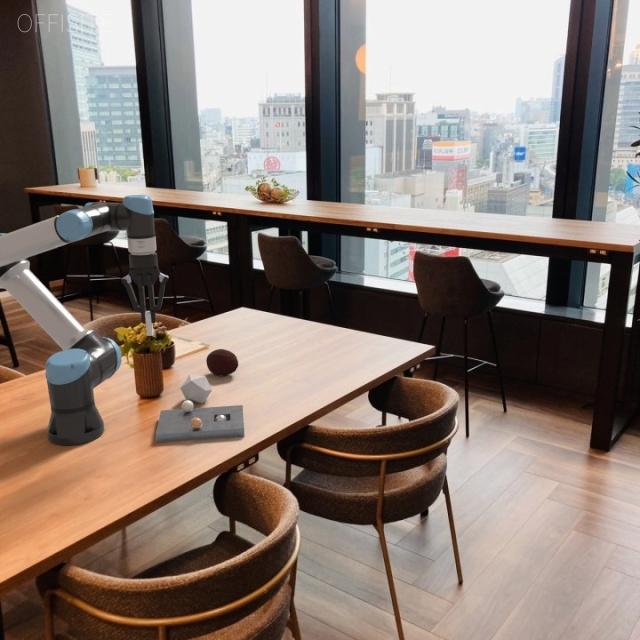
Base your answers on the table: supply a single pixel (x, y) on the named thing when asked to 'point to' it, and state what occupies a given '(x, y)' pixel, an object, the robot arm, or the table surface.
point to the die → (196, 388)
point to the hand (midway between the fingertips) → (150, 334)
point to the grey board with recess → (179, 425)
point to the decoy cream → (187, 406)
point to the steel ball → (220, 418)
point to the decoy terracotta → (196, 423)
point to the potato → (222, 362)
